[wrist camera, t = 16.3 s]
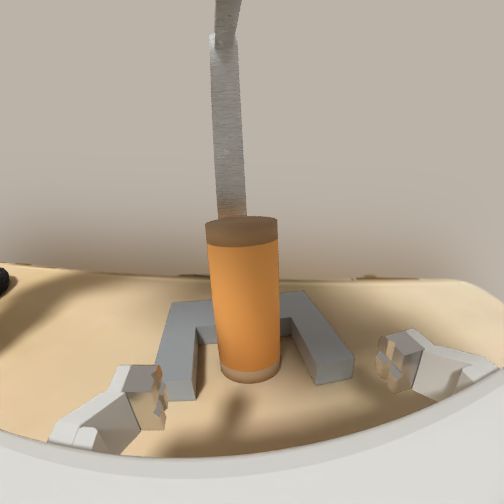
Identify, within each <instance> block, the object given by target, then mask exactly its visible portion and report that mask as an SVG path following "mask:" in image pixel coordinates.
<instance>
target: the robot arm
mask: <svg viewBox="0 0 504 504" xmlns="http://www.w3.org/2000/svg"><path fill="white" fill-rule="evenodd" d="M378 347H379V349H380V351H379V353H378V354H377V355H376V360H375V365H376V370H377V373H378V374H379V376H380V377H381V378H383V379H386V380H387V382H386V385H387V386H388V387H389V388H390V390H391V391H392V392H393V393H394V394H396V393H399V392H403V391H406V390H409V389H412V390H414V391H416V392H418V393H420V394H422V395H424V396H426V397H428V398H430V399H432V400H434V401H436V402H437V403H435V404H433V405H431V406H428V407H426V408H424V409H421V410H419V411H417V412H414V413H412V414H409V415H406V416H404V417H401V418H399V419H396V420H393V421H390V422H387V423H384V424H382V425H379V426H376V427H372V428H369V429H366V430H363V431H359V432H356V433H352V434H349V435H345V436H342V437H338V438H334V439H330V440H325V441H321V442H317V443H312V444H307V445H302V446H297V447H292V448H286V449H280V450H274V451H267V452H260V453H252V454H243V455H232V456H219V457H199V458H162V457H141V456H128V455H120V454H121V453H122V452H123V450H124V449H125V448H126V447H127V446H128V445H129V444H130V443H131V442H132V441H133V440H134V439H135V438H136V437H137V435H138V434H139V433H140V432H141V430H164V429H165V422H166V415H165V412H164V411H165V410H166V409H167V408H168V393H167V388H166V384H165V383H164V382H163V381H162V376H163V373H162V370H161V367H160V366H159V365H119V366H118V367H117V369H116V371H115V374H114V376H113V378H112V381H111V383H110V385H109V388H108V390H107V392H102V393H100V394H99V395H97V396H96V397H94V398H93V399H91V400H90V401H88V402H86V403H85V404H83V405H82V406H80V407H79V408H77V409H76V410H74V411H73V412H71V413H69V414H68V415H66V416H65V417H63V418H62V419H60V420H58V421H57V423H56V425H55V427H54V429H53V431H52V433H51V435H50V437H49V439H48V441H47V442H43V441H39V440H35V439H31V438H27V437H24V436H20V435H17V434H14V433H11V432H8V431H5V430H2V429H0V504H504V367H503V368H501V369H500V368H498V367H497V366H496V365H495V364H493V363H492V362H491V361H489V360H488V359H487V358H486V357H483V356H479V355H475V354H471V353H467V352H463V351H459V350H455V349H451V348H447V347H443V346H440V345H437V346H435V345H434V344H433V343H431V342H430V341H429V340H428V339H427V338H425V337H424V336H423V335H422V334H421V333H419V332H418V331H417V330H416V329H413V328H411V329H408V330H404V331H402V332H398V333H394V334H390V335H387V336H382V337H381V338H380V340H379V343H378Z"/></svg>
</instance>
